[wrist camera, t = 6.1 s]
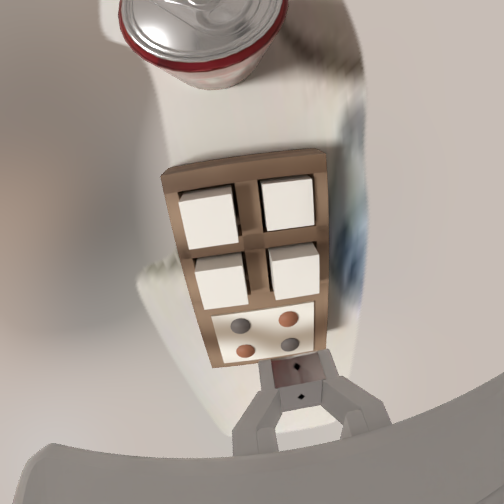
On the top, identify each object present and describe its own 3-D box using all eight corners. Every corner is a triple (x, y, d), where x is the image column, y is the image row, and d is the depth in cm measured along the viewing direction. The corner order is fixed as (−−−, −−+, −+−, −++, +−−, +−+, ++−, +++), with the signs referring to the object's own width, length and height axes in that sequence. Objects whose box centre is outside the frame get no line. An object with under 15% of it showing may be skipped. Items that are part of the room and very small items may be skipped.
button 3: (268, 246, 24) (271, 261, 22) (311, 240, 24) (319, 254, 22) (271, 283, 26) (275, 300, 24) (312, 277, 26) (319, 293, 24)
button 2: (183, 192, 22) (178, 202, 19) (231, 184, 22) (231, 193, 19) (192, 235, 23) (189, 249, 21) (237, 228, 23) (238, 242, 21)
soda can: (278, 33, 18) (321, -28, 8) (232, 106, 21) (235, 100, 10) (197, -3, 16) (173, -80, 6) (151, 70, 19) (83, 41, 8)
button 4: (258, 176, 23) (262, 184, 21) (303, 171, 23) (311, 178, 21) (263, 219, 24) (267, 231, 22) (306, 213, 24) (314, 225, 22)
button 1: (197, 256, 24) (194, 272, 22) (240, 250, 24) (242, 265, 22) (206, 292, 26) (204, 309, 24) (246, 286, 26) (248, 304, 24)
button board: (168, 167, 23) (159, 177, 20) (314, 148, 23) (327, 154, 20) (213, 348, 32) (212, 370, 29) (318, 333, 32) (326, 353, 29)
